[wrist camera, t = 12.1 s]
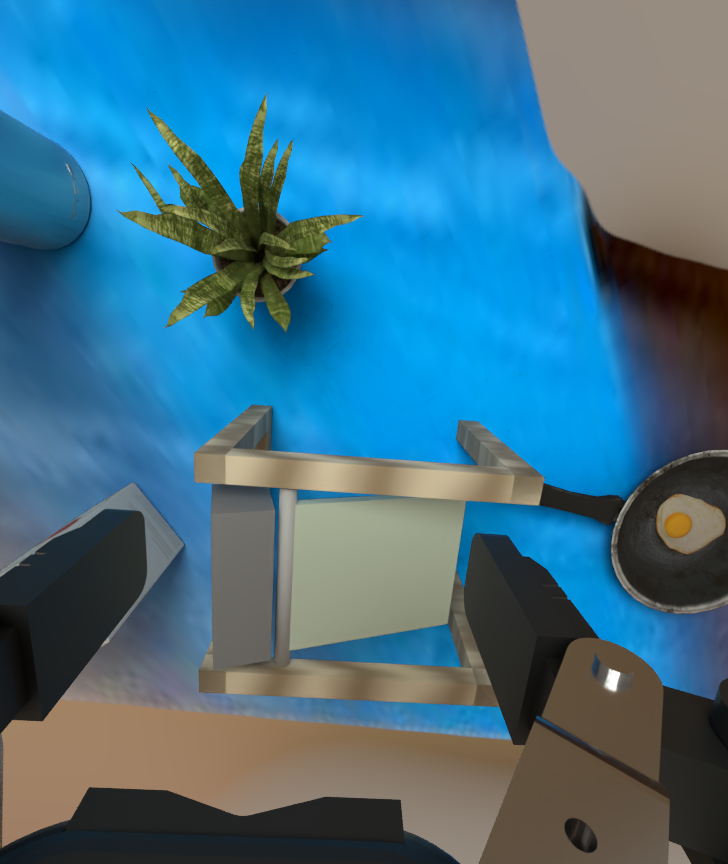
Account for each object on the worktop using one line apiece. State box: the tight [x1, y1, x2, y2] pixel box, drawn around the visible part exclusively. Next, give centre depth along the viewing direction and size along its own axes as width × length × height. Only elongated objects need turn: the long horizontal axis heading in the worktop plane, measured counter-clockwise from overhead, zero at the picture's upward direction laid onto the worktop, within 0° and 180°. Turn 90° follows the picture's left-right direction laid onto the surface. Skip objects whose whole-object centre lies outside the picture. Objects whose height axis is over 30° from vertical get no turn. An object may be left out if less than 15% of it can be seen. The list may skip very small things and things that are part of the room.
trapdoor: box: [211, 484, 466, 670], centre depth 34 cm, size 19×14×5 cm
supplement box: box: [0, 483, 184, 648], centre depth 39 cm, size 9×9×15 cm
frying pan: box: [539, 450, 728, 614], centre depth 45 cm, size 19×32×4 cm, turn 74°
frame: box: [194, 405, 544, 707], centre depth 38 cm, size 23×19×16 cm
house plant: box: [117, 93, 365, 332], centre depth 32 cm, size 14×14×16 cm
